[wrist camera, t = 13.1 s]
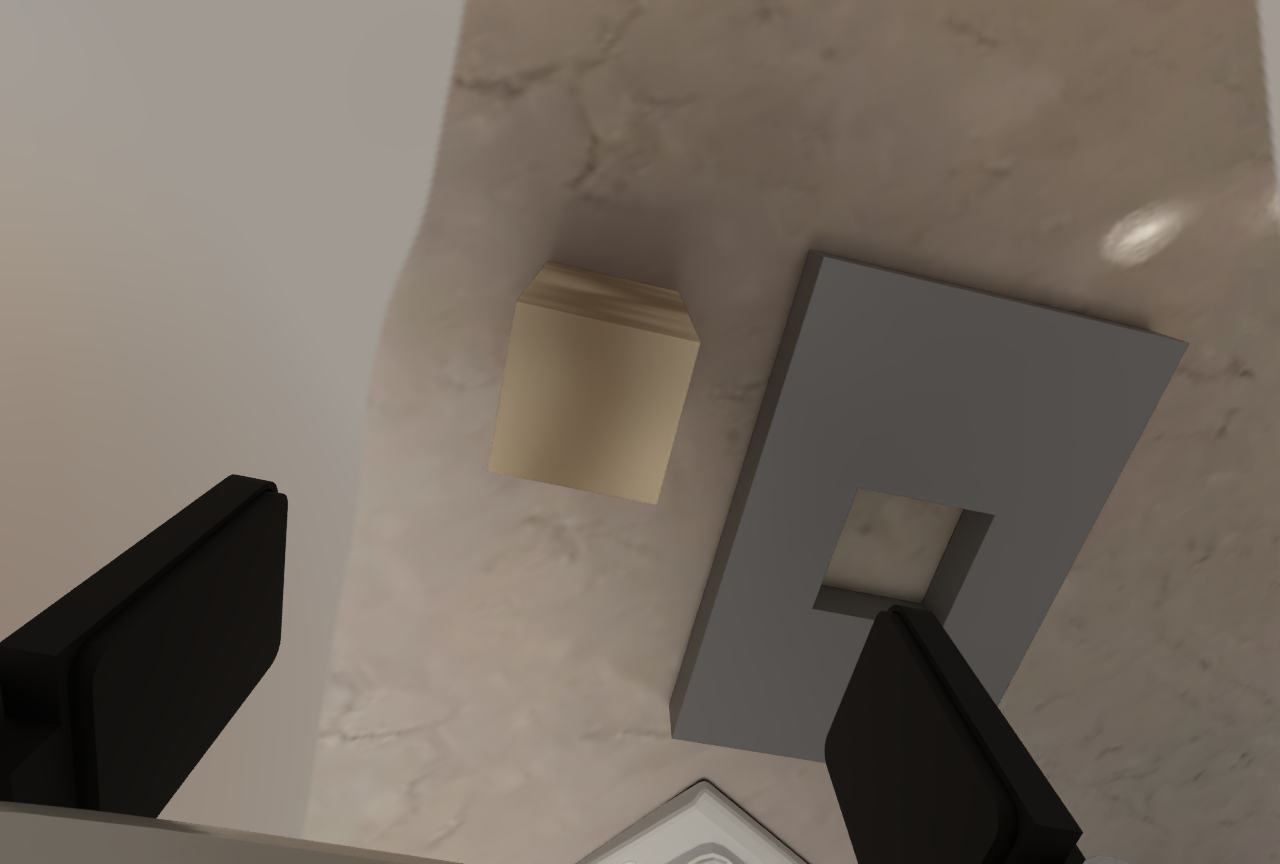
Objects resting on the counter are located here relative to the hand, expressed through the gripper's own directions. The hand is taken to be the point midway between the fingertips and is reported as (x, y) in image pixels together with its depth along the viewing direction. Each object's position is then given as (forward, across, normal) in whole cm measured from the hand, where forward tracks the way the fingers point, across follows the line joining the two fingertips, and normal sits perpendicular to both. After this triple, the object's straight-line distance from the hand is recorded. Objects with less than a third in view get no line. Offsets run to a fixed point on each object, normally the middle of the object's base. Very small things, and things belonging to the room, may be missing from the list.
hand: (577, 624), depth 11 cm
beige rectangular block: (+17, +1, 0) cm, 17 cm away
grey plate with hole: (+17, -13, +5) cm, 22 cm away
